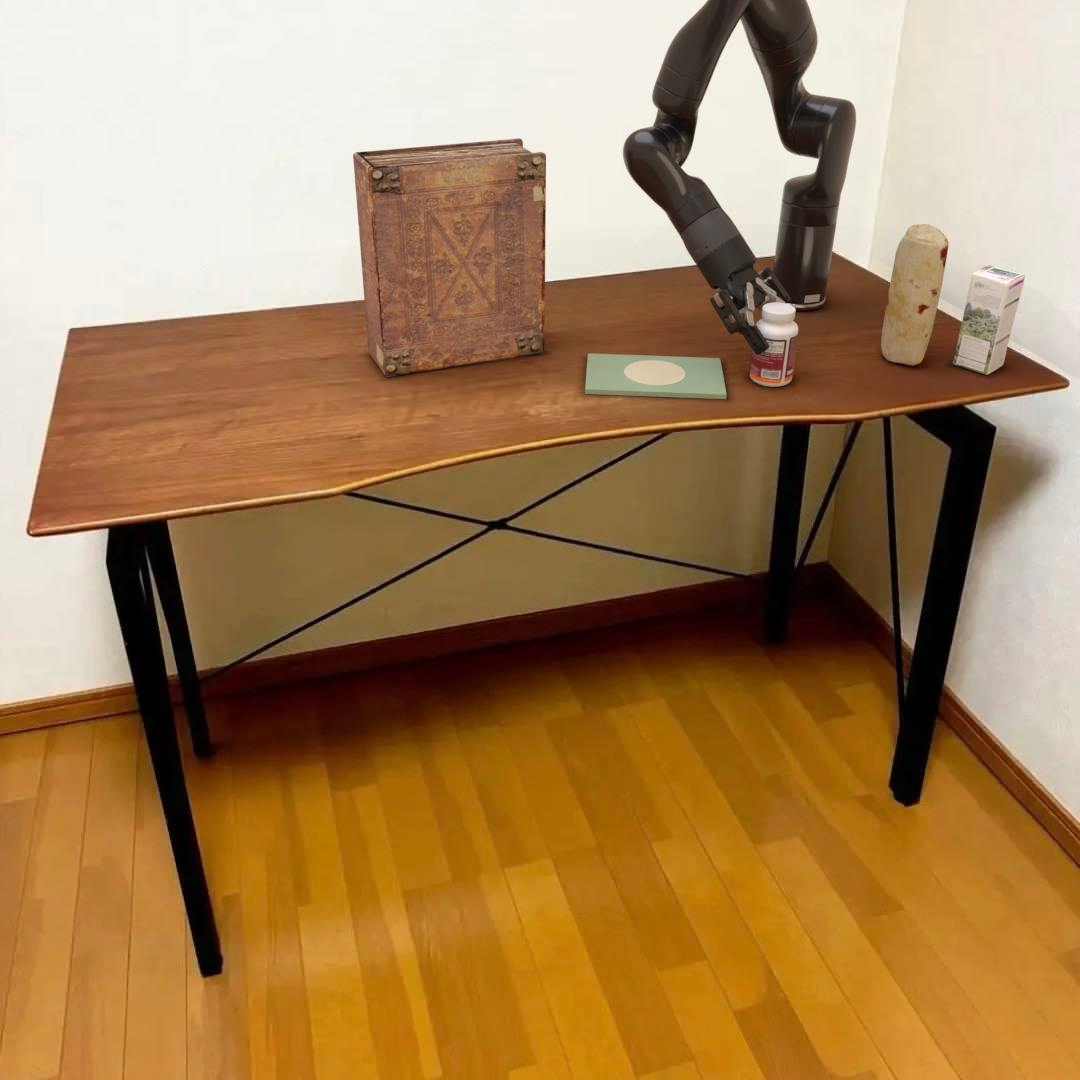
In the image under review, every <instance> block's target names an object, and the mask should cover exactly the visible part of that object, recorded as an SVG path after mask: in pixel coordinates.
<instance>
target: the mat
mask: <svg viewBox="0 0 1080 1080" xmlns="http://www.w3.org/2000/svg"><path fill="white" fill-rule="evenodd" d="M584 394H585V395H599V396H600V395H603V396H624V397H625V396H629V397H650V398H651V397H652V398H653V397H654V398H678V399H679V398H680V399H681V398H682V399H706V400H707V399H708V400H727V397H728V396H727V389H726V384H725V377H724V372H723V367H722V360H721V357H703V356H702V357H700V356H699V357H698V356H676V355H675V356H673V355H672V356H670V355H645V354H644V355H642V354H618V353H617V354H615V353H614V354H613V353H587V359H586V374H585V386H584Z"/></svg>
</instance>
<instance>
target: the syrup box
mask: <svg viewBox="0 0 1080 1080" xmlns="http://www.w3.org/2000/svg"><path fill="white" fill-rule="evenodd" d="M1025 278H1026V274H1025V273H1021V272H1019V271H1013V270H1009V269H1006V268H1002V267H998V266H995V265H994V266H993V265H990V264H989V265H985V266H984V267H982V268H979V269H978V270H976V271H974V272H973V273H972V275H971V279H970V283H969V288H968V293H967V298H966V302H965V307H964V311H963V316H962V320H961V325H960V329H959V333H958V339H957V343H956V347H955V351H954V357H953V361H952V365H954V366H957V367H959V368H963V369H967V370H969V371H972V372H975V373H979V374H982V375H985V376H987V375H990V374H991V373H993V372H996V371H997V370H998V369H999V368H1001V367H1003V366H1004V363H1005V359H1006V355H1007V351H1008V346H1009V342H1010V338H1011V334H1012V329H1013V326H1014V322H1015V318H1016V313H1017V310H1018V306H1019V303H1020V298H1021V294H1022V292H1023V287H1024V283H1025Z"/></svg>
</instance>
